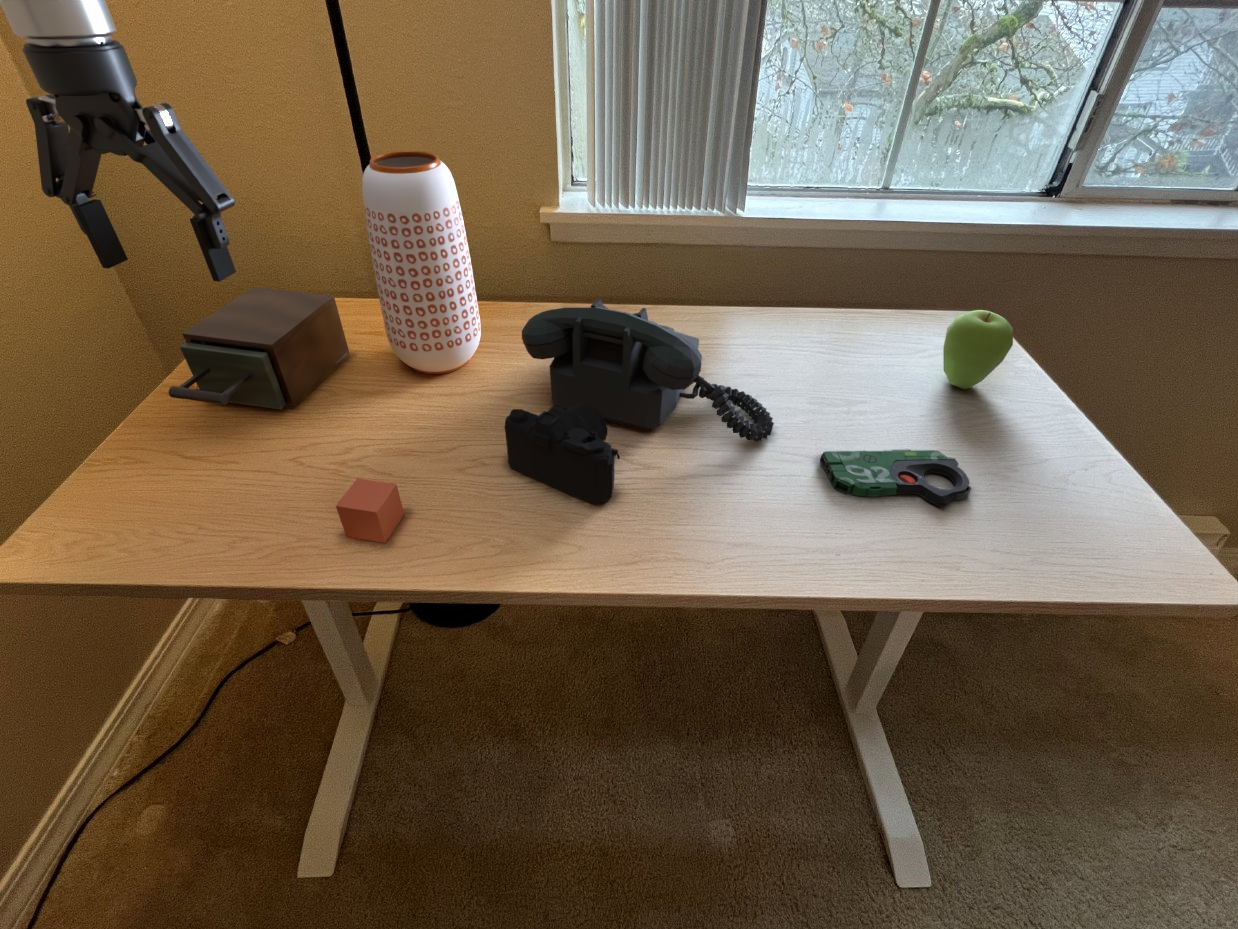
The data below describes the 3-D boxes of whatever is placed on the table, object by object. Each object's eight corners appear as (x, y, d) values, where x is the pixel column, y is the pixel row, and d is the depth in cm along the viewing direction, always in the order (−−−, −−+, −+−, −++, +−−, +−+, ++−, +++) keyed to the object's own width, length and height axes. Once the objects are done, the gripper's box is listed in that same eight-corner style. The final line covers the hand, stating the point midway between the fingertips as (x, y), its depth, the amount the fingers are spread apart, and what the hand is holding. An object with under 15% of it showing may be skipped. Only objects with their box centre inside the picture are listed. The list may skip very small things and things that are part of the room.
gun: (845, 502, 72) (819, 447, 80) (841, 511, 73) (816, 456, 81) (985, 500, 73) (946, 446, 81) (980, 509, 74) (942, 455, 82)
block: (385, 543, 68) (376, 512, 65) (345, 536, 68) (335, 505, 65) (404, 514, 71) (396, 483, 68) (366, 508, 72) (357, 477, 69)
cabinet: (294, 408, 86) (271, 344, 80) (210, 396, 88) (181, 333, 82) (350, 355, 97) (334, 295, 91) (274, 345, 99) (253, 286, 93)
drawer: (251, 437, 80) (228, 383, 75) (169, 425, 81) (141, 371, 76) (335, 358, 95) (321, 309, 90) (265, 349, 96) (247, 301, 91)
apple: (928, 364, 99) (955, 294, 92) (987, 376, 97) (1019, 304, 90) (928, 393, 93) (957, 320, 86) (992, 405, 91) (1026, 331, 83)
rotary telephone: (790, 381, 94) (812, 284, 85) (760, 468, 79) (782, 360, 69) (581, 337, 103) (580, 245, 94) (517, 406, 88) (508, 304, 78)
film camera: (644, 467, 78) (648, 406, 73) (600, 513, 72) (601, 450, 66) (544, 426, 84) (541, 367, 79) (496, 465, 78) (488, 403, 72)
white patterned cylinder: (374, 367, 95) (322, 162, 77) (436, 330, 104) (403, 140, 86) (443, 392, 90) (406, 180, 72) (502, 352, 99) (481, 155, 81)
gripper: (224, 42, 58) (292, 268, 72) (-8, 28, 62) (99, 246, 75) (163, 52, 53) (250, 296, 66) (-89, 36, 56) (42, 271, 69)
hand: (169, 270), depth 71 cm, fingers open, 13 cm apart
